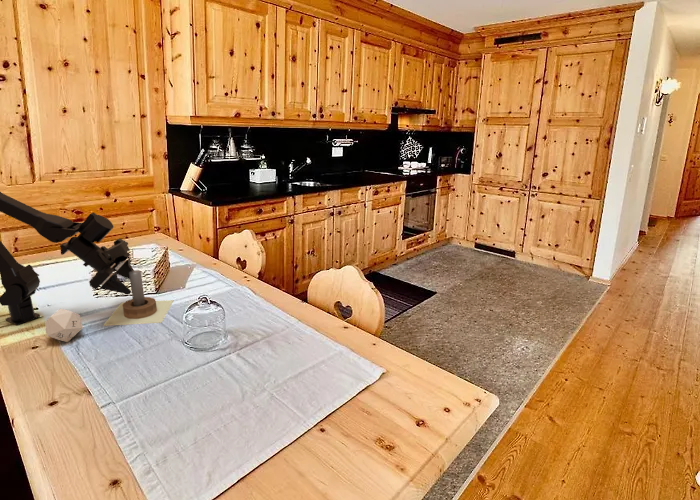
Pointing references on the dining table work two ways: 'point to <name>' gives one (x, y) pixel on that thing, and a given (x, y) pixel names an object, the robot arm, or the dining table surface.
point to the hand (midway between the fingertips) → (135, 287)
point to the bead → (139, 309)
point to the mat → (157, 317)
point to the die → (63, 325)
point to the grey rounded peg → (137, 288)
